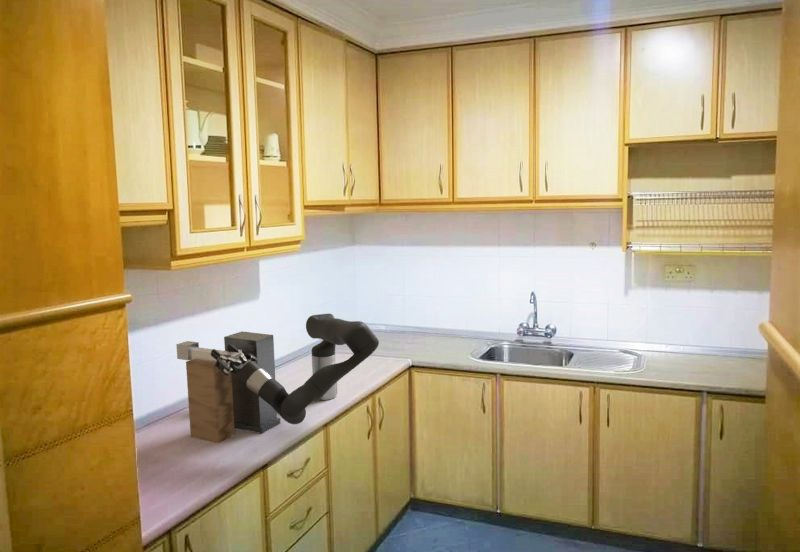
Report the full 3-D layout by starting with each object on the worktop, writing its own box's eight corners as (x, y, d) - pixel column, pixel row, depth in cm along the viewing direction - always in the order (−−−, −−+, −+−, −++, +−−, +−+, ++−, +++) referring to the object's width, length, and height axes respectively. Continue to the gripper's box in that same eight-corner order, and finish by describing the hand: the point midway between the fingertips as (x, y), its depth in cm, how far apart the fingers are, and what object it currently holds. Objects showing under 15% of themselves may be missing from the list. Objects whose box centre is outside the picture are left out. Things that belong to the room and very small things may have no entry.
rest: (208, 428, 218) (203, 355, 214) (234, 434, 212) (230, 359, 209) (190, 436, 211) (185, 361, 207) (217, 442, 205) (213, 365, 202)
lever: (188, 355, 215) (187, 341, 215) (240, 362, 205) (239, 347, 204) (177, 358, 211) (176, 344, 210) (230, 366, 201) (229, 351, 200)
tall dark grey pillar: (245, 416, 229) (240, 330, 224) (280, 423, 222) (276, 334, 217) (225, 426, 220) (220, 336, 216) (262, 433, 213) (257, 341, 208)
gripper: (274, 363, 205) (239, 334, 210) (245, 375, 192) (208, 344, 197) (266, 381, 207) (231, 352, 212) (236, 394, 194) (200, 363, 200)
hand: (220, 348), depth 205 cm, fingers open, 7 cm apart
